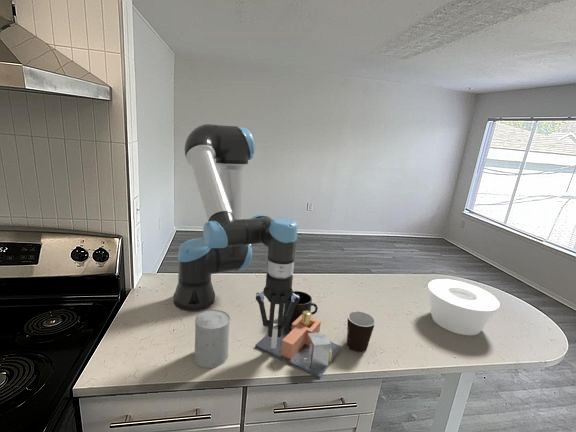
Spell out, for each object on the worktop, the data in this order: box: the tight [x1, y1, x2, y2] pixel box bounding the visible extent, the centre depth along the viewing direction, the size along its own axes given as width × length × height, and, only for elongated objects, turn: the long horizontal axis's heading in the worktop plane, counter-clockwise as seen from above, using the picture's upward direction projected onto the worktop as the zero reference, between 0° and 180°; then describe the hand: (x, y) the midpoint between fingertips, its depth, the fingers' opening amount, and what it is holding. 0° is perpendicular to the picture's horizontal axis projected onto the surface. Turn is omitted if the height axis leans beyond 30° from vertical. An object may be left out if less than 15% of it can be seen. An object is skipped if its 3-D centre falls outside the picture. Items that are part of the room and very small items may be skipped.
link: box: [281, 314, 321, 359], centre depth 102 cm, size 16×7×5 cm, turn 150°
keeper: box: [308, 331, 332, 368], centre depth 95 cm, size 6×6×7 cm
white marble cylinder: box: [193, 309, 231, 369], centre depth 93 cm, size 10×10×12 cm
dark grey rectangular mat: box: [255, 324, 342, 379], centre depth 102 cm, size 22×16×1 cm
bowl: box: [427, 278, 501, 336], centre depth 124 cm, size 24×24×12 cm
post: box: [301, 311, 312, 328], centre depth 106 cm, size 3×3×8 cm
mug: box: [283, 290, 319, 325], centre depth 116 cm, size 9×12×9 cm
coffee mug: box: [346, 310, 376, 353], centre depth 105 cm, size 12×9×10 cm
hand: (273, 345), depth 98 cm, fingers closed
